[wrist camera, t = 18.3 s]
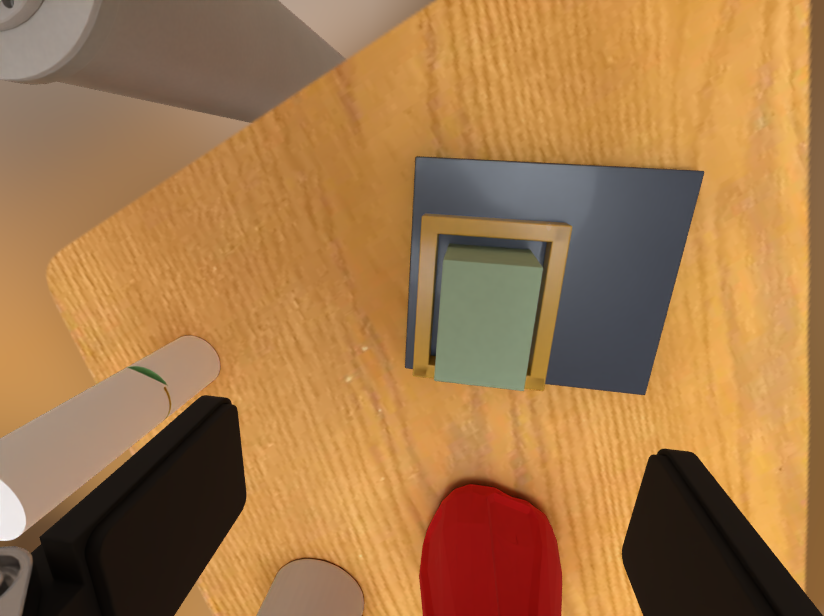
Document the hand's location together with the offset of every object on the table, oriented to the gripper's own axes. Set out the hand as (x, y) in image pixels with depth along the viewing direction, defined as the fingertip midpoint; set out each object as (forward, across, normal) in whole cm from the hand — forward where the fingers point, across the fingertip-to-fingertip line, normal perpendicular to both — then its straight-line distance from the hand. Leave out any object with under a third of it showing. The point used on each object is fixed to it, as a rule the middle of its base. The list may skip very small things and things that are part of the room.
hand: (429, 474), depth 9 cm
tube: (+20, +20, +9) cm, 29 cm away
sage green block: (+18, -2, +2) cm, 18 cm away
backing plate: (+19, -5, 0) cm, 20 cm away
